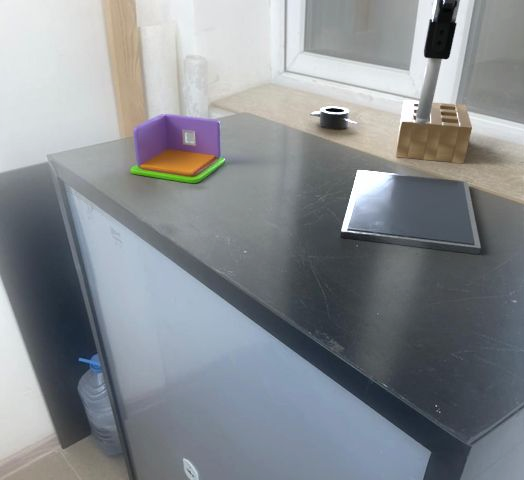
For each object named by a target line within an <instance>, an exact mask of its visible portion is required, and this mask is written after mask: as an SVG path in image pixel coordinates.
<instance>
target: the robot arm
mask: <svg viewBox="0 0 524 480" xmlns="http://www.w3.org/2000/svg"><path fill="white" fill-rule="evenodd" d="M460 3H461V0H434V4H433V8H432V15H431V18H429V21H428V25H427V26H428V27H427V31H426V32H427V33H426V37H425V42H424V47H423V56H424V58H425V59H428V58H434V59H442V60H448V59H449V58H450V57H451V52H452V48H453V42H454V37H455V33H456V29H457V22H456V21H457V16H458V11H459V8H460Z"/></svg>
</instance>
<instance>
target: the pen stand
mask: <svg viewBox="0 0 524 480" xmlns="http://www.w3.org/2000/svg"><path fill="white" fill-rule="evenodd" d="M418 104H419V100H405V99H404V100H403V102H402V109H401V114H400V121H399V127H398V132H397V142H396V150H395V158H404V159H412V160H413V159H414V160H424V161H433V162H435V161H436V162H443V163H444V162H445V163H456V164H464V163H465V158H466V154H467V151H468V146H469V142H470V138H471V134H472V130H473V126H472V122H471V118H470V116H469V112H468V109H467V105H466V104H456V103H444V102H443V103H442V102H433V103H432V108H431V112H430V117H429V120H428V122H427V123H425V124H419V123H418V122H417V121H416V115H417V110H418Z"/></svg>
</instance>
